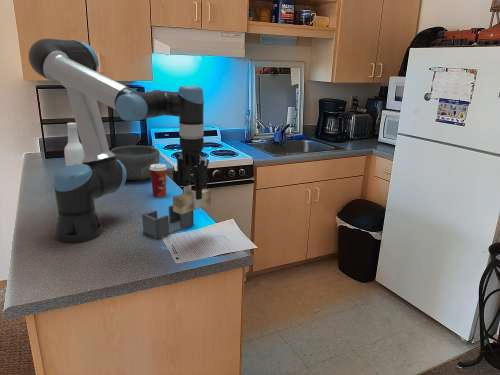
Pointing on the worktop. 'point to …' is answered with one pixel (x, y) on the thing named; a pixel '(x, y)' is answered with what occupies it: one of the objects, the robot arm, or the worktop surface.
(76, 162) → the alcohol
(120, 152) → the bowl
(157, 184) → the paper cup
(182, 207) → the beige mottled block
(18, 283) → the worktop surface
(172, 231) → the end caps
